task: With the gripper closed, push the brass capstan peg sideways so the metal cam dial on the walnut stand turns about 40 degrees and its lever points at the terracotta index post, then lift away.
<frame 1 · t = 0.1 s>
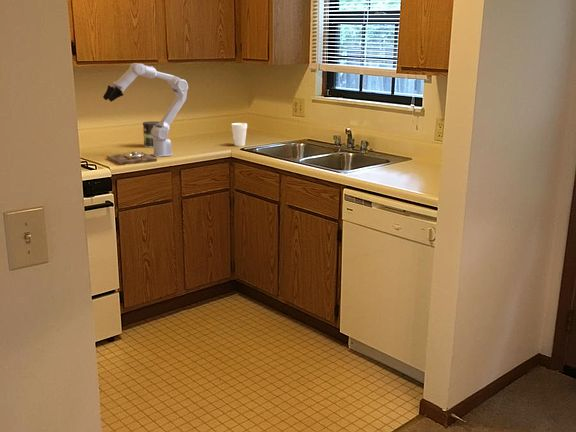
hand: (106, 99, 317), 32 cm above the worktop, tool tilted 50°, fingers open, 7 cm apart
coffee can: (152, 146, 369), on the worktop
walnut stand: (131, 160, 328), on the worktop
foam cup: (239, 145, 375), on the worktop
cam dial: (133, 154, 327), point 3 cm above the worktop, hinge at -40.0°
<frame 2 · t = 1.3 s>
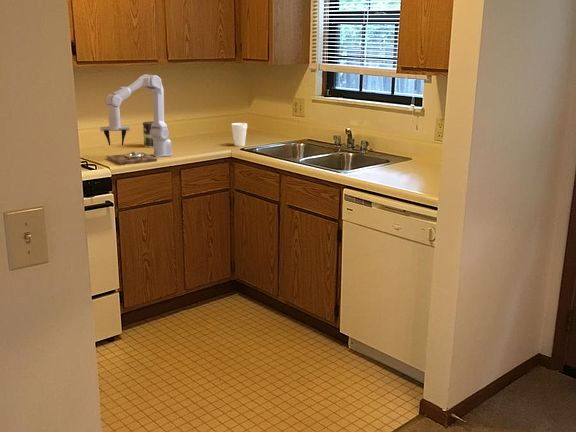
hand: (116, 144, 318), 9 cm above the worktop, tool pointing down, fingers open, 6 cm apart
nothing on the worktop moved.
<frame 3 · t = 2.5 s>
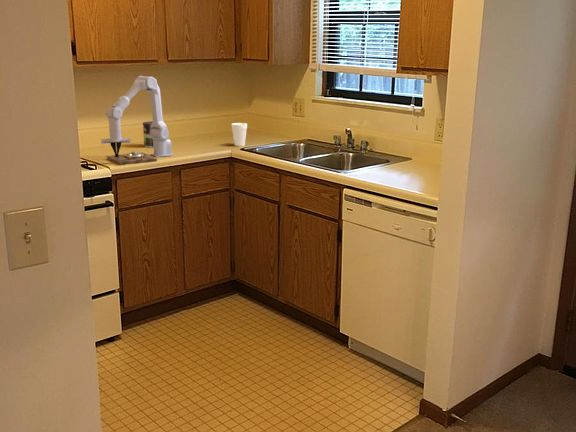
hand: (116, 156, 320), 3 cm above the worktop, tool pointing down, fingers closed
nothing on the worktop moved.
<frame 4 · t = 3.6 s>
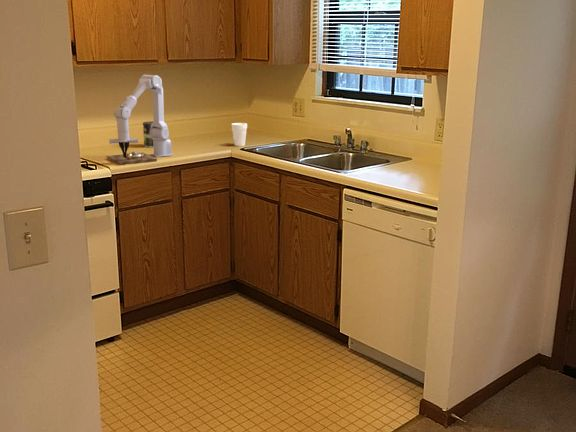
hand: (124, 156, 321), 3 cm above the worktop, tool pointing down, fingers closed, pressing on cam dial
cam dial: (133, 154, 327), point 3 cm above the worktop, hinge at -40.0°, touching gripper
everything else where it was.
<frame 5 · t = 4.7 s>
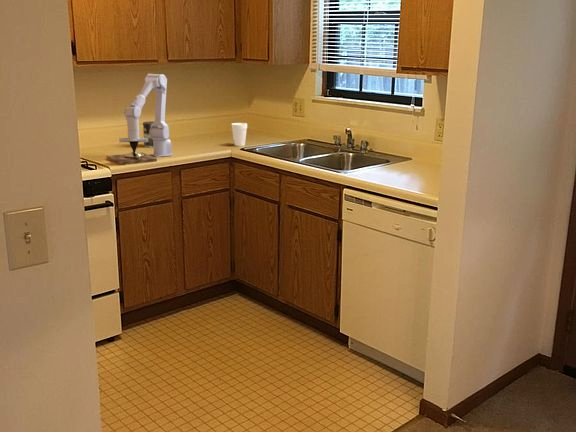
hand: (134, 156, 322), 3 cm above the worktop, tool pointing down, fingers closed, pressing on cam dial
cam dial: (135, 154, 327), point 3 cm above the worktop, hinge at -9.2°, touching gripper
everything else where it was.
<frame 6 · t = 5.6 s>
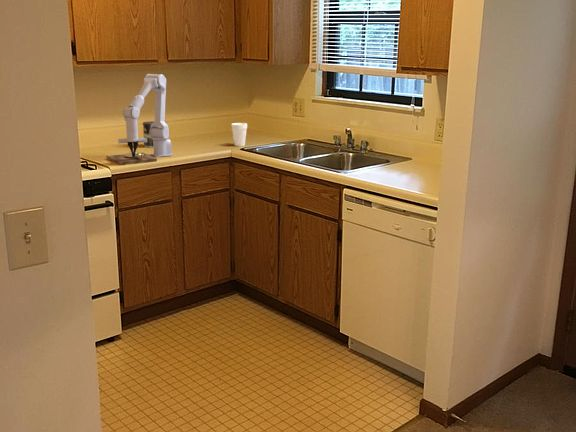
hand: (133, 156, 322), 3 cm above the worktop, tool pointing down, fingers closed
cam dial: (135, 154, 327), point 3 cm above the worktop, hinge at -4.2°
everything else where it was.
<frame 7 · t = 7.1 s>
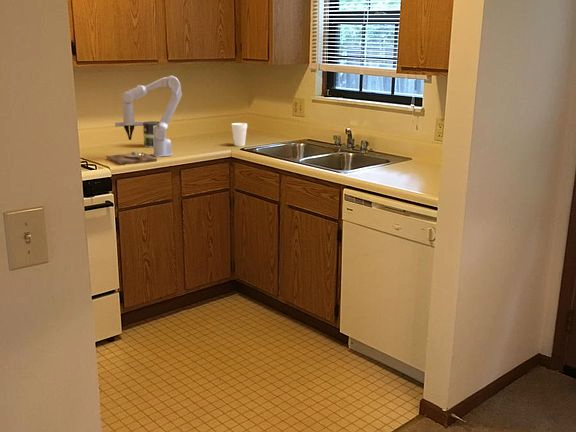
hand: (130, 139, 334), 9 cm above the worktop, tool pointing down, fingers closed
nothing on the worktop moved.
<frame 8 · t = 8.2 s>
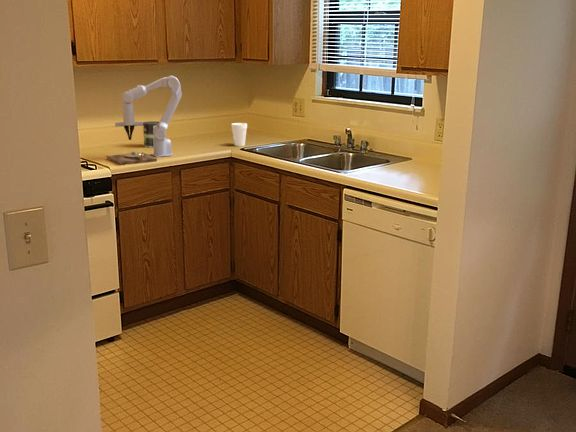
hand: (130, 139, 334), 9 cm above the worktop, tool pointing down, fingers closed
nothing on the worktop moved.
at the end: cam dial at -4° (first picture: -40°) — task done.
